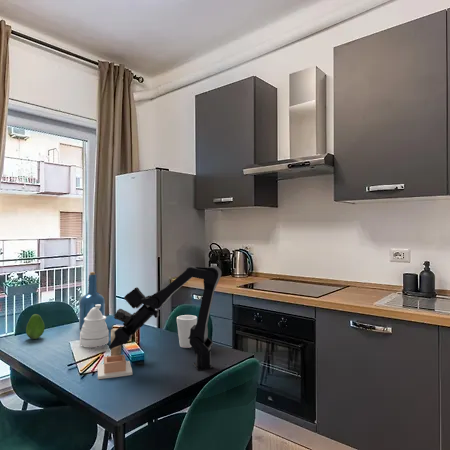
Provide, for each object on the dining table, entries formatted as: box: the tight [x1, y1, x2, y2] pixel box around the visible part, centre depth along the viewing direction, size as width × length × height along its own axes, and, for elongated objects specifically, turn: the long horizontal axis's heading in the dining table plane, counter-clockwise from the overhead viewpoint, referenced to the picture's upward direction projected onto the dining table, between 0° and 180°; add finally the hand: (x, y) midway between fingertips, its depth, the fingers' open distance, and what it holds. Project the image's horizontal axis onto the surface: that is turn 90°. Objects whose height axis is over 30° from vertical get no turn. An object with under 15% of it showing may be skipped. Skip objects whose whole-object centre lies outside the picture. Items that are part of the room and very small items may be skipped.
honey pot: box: [79, 304, 110, 348], centre depth 170 cm, size 13×13×18 cm
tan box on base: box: [97, 354, 133, 380], centre depth 137 cm, size 12×12×4 cm
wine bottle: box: [78, 271, 106, 329], centre depth 197 cm, size 14×13×30 cm
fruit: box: [25, 313, 46, 340], centre depth 176 cm, size 8×8×12 cm
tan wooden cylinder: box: [110, 328, 122, 356], centre depth 146 cm, size 4×4×13 cm
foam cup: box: [176, 314, 198, 349], centre depth 167 cm, size 10×9×13 cm
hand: (113, 344), depth 146 cm, fingers open, 9 cm apart
